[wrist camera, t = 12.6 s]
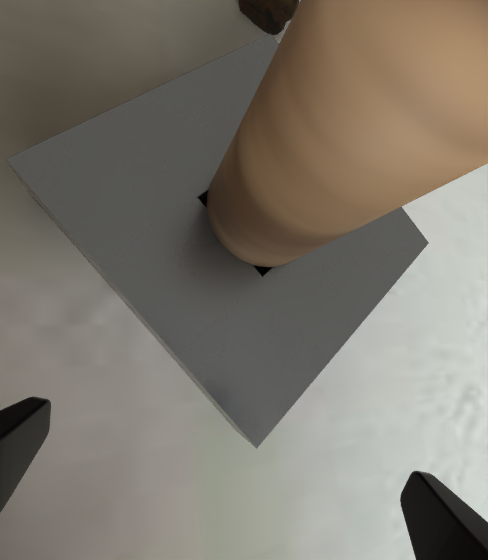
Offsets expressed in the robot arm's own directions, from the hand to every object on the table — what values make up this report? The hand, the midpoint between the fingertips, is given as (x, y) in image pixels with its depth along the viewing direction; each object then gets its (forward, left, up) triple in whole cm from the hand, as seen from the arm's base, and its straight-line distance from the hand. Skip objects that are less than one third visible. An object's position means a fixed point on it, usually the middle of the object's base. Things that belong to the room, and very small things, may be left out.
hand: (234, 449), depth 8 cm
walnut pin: (+9, +5, -9) cm, 13 cm away
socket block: (+9, +4, -9) cm, 13 cm away
